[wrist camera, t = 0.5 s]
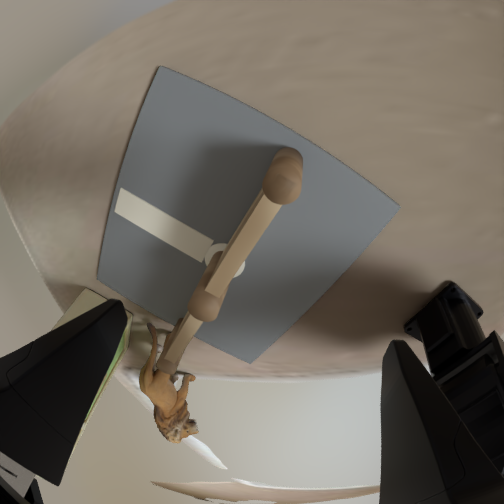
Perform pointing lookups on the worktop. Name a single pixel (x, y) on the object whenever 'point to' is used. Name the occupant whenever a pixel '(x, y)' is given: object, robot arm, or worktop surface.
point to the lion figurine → (167, 397)
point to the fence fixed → (192, 319)
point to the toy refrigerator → (90, 301)
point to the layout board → (229, 215)
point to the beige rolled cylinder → (259, 215)
